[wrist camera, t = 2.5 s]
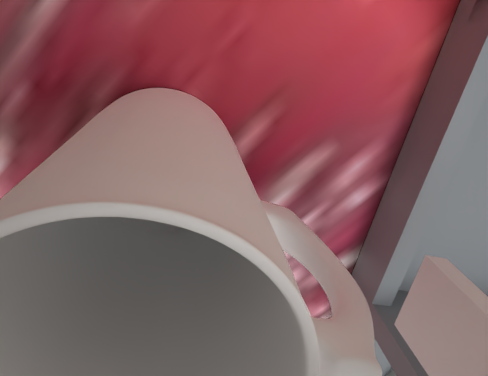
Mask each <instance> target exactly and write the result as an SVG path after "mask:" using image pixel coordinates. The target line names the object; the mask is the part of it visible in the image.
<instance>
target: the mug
mask: <svg viewBox="0 0 488 376" xmlns="http://www.w3.org/2000/svg"><path fill="white" fill-rule="evenodd" d="M283 251H285V252H286V253H288V254H289V255H291V256H292V257H294V258H295V259H296V260H297V261H299V262H300V263H301V264H302V265H303V266H304V267H306V268H307V269H308V270H309V272H310V273H311V274H312V275H313V276H314V277H315V278H316V280H317V281H318V282H319V283H320V285H321V286H322V288H323V290H324V291H325V293H326V295H327V297H328V299H329V302H330V305H331V310H332V315H331V318H328V319H319V318H315V317H312V316H311V315H310V312H309V310H308V308H307V306H306V304H305V302H304V300H303V298H302V296H301V293H300V291H299V288H298V285H297V283H296V280H295V278H294V275H293V273H292V270H291V268H290V266H289V263H288V261H287V259H286V256H285V254H284V252H283ZM0 376H382V369H381V366H380V364H379V363H378V361H377V359H376V356H375V350H374V328H373V321H372V316H371V312H370V309H369V306H368V303H367V300H366V298H365V296H364V294H363V292H362V291H361V289H360V287H359V286H358V284H357V283H356V281H355V280H354V278H353V277H352V275H351V274H350V273H349V271H348V270H347V269H346V268H345V266H344V265H343V264H342V263H341V261H340V260H339V259H338V258H337V257H336V256H335V254H334V253H333V252H332V251H331V250H330V249H329V248H328V247H327V246H326V245H325V243H324V242H323V241H322V240H321V239H320V238H319V237H318V236H317V235H316V234H315V233H314V232H313V231H312V230H311V229H310V228H309V227H308V226H307V225H306V224H305V223H304V222H303V221H302V220H301V219H300V218H299V217H298V216H297V215H296V214H295V213H293V212H292V211H291V210H290V209H288V208H286V207H283V206H279V205H276V204H272V203H269V202H266V201H263V200H260V199H259V197H258V195H257V193H256V190H255V188H254V186H253V184H252V182H251V179H250V177H249V175H248V173H247V171H246V168H245V166H244V164H243V162H242V159H241V157H240V155H239V152H238V150H237V148H236V146H235V143H234V141H233V139H232V138H231V136H230V134H229V132H228V130H227V128H226V126H225V125H224V123H223V122H222V120H221V119H220V118H219V116H218V115H217V114H216V113H215V112H214V111H213V110H212V109H211V108H210V107H209V106H208V105H206V104H205V103H204V102H202V101H201V100H199V99H198V98H196V97H194V96H192V95H190V94H187V93H185V92H182V91H178V90H174V89H168V88H148V89H142V90H138V91H134V92H131V93H129V94H126V95H124V96H122V97H120V98H119V99H117V100H116V101H114V102H113V103H111V104H110V105H109V106H107V107H106V108H105V109H103V110H102V111H101V112H99V113H98V114H97V115H96V116H95V117H94V118H92V119H91V120H90V121H89V122H88V123H87V124H86V125H85V126H84V127H83V128H81V129H80V130H79V131H78V132H77V133H76V134H75V135H73V136H72V137H71V138H70V139H69V140H68V141H67V142H65V143H64V144H63V145H62V146H61V147H60V148H59V149H57V150H56V151H55V152H54V153H53V154H52V155H51V156H49V157H48V158H47V159H46V160H45V161H44V162H42V163H41V164H40V165H39V166H38V167H37V168H35V169H34V170H33V171H32V172H31V173H30V174H29V175H27V176H26V177H25V178H24V179H23V180H22V181H20V182H19V183H18V184H17V185H16V186H15V187H14V188H12V189H11V190H10V191H9V192H8V193H7V194H6V195H4V196H3V197H2V198H1V199H0Z"/></svg>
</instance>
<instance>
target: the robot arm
mask: <svg viewBox="0 0 488 376" xmlns="http://www.w3.org/2000/svg"><path fill="white" fill-rule="evenodd" d="M394 325H395V326H396V328H397V329H398V331H399V332H400V334H401V335H402V337H403V338H404V340H405V341H406V343H407V344H408V346H409V347H410V349H411V350H412V352H413V353H414V355H415V356H416V358H417V359H418V361H419V362H420V364H421V365H422V367H423V368H424V370H425V371H426V373H427V374H428V376H488V296H487V295H485V294H484V293H483V292H482V291H481V290H480V289H479V288H478V287H477V286H476V285H475V284H473V283H472V282H471V281H470V280H469V279H468V278H467V277H466V276H465V275H464V274H463V273H462V272H460V271H459V270H458V269H457V268H456V267H455V266H454V265H453V264H452V263H451V262H450V261H448V260H447V259H445V258H440V257H434V256H428V255H425V257H424V260H423V262H422V264H421V266H420V268H419V271H418V273H417V275H416V277H415V279H414V282H413V284H412V286H411V288H410V290H409V293H408V295H407V297H406V299H405V301H404V304H403V306H402V308H401V310H400V312H399V315H398V317H397V319H396V321H395V323H394Z"/></svg>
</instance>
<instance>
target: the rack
mask: <svg viewBox="0 0 488 376" xmlns="http://www.w3.org/2000/svg"><path fill="white" fill-rule="evenodd" d="M425 255H428V256H434V257H440V258H445V259H447V260H448V261H450V262H451V263H452V264H453V265H454V266H455V267H456V268H457V269H458V270H459V271H460V272H462V273H463V274H464V275H465V276H466V277H467V278H468V279H469V280H470V281H471V282H472V283H473V284H475V285H476V286H477V287H478V288H479V289H480V290H481V291H482V292H483V293H484V294H485V295H487V296H488V0H461V1H460V3H459V6H458V8H457V11H456V13H455V16H454V18H453V21H452V23H451V26H450V28H449V31H448V33H447V36H446V38H445V41H444V43H443V46H442V48H441V51H440V53H439V56H438V58H437V61H436V63H435V66H434V68H433V71H432V73H431V76H430V79H429V81H428V84H427V86H426V89H425V91H424V94H423V96H422V99H421V101H420V104H419V106H418V109H417V111H416V114H415V116H414V119H413V121H412V124H411V126H410V129H409V131H408V134H407V136H406V139H405V141H404V144H403V146H402V149H401V151H400V154H399V156H398V159H397V161H396V164H395V166H394V169H393V171H392V174H391V176H390V179H389V182H388V184H387V187H386V189H385V192H384V194H383V197H382V199H381V202H380V204H379V207H378V209H377V212H376V214H375V217H374V219H373V222H372V224H371V227H370V229H369V232H368V234H367V237H366V239H365V242H364V244H363V247H362V249H361V252H360V254H359V257H358V259H357V262H356V264H355V267H354V269H353V272H352V274H351V275H352V277H353V278H354V280H355V281H356V283H357V284H358V286H359V287H360V289H361V291H362V292H363V294H364V296H365V298H366V300H367V303H368V306H369V309H370V312H371V316H372V321H373V328H374V350H375V356H376V359H377V361H378V363H379V364H380V366H381V369H382V376H386V375H387V373H388V372H390V371H391V370H392V369H393V370H394V372H395V374H396V376H428V374H427V373H426V371H425V370H424V368H423V367H422V365H421V364H420V362H419V361H418V359H417V358H416V356H415V355H414V353H413V352H412V350H411V349H410V347H409V346H408V344H407V343H406V341H405V340H404V338H403V337H402V335H401V334H400V332H399V331H398V329H397V328H396V326H395V325H394V323H395V321H396V319H397V317H398V315H399V312H400V310H401V308H402V306H403V304H404V301H405V299H406V297H407V295H408V293H409V290H410V288H411V286H412V284H413V282H414V279H415V277H416V275H417V273H418V271H419V268H420V266H421V264H422V262H423V260H424V257H425Z"/></svg>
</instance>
